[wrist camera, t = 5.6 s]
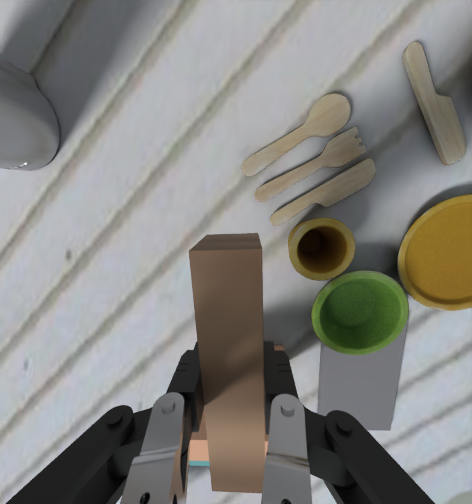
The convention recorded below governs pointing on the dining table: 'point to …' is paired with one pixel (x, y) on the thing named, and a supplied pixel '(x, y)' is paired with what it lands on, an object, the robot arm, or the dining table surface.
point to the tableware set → (341, 238)
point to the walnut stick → (231, 356)
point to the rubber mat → (361, 383)
